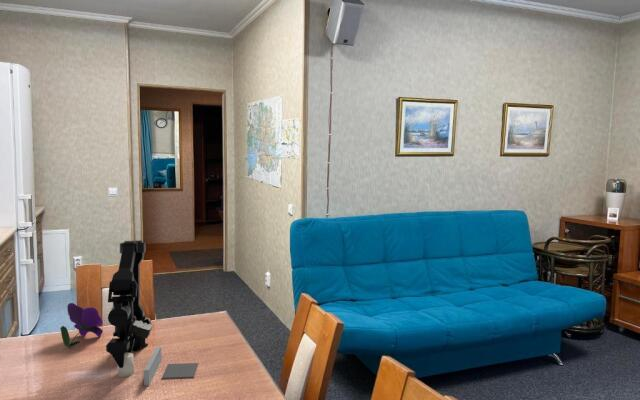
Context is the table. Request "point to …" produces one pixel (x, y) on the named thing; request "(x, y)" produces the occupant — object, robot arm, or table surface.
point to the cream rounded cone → (127, 366)
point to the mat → (180, 370)
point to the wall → (152, 366)
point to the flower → (82, 322)
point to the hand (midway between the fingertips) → (125, 361)
